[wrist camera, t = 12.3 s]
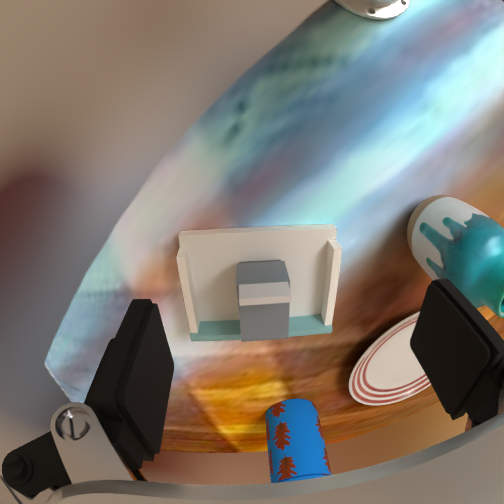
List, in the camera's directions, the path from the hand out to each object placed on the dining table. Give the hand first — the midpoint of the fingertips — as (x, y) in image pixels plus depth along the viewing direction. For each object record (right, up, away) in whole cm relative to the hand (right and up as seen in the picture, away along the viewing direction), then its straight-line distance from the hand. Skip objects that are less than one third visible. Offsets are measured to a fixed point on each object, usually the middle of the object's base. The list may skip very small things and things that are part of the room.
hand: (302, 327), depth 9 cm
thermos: (+6, -31, +45) cm, 55 cm away
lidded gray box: (-1, -1, +28) cm, 28 cm away
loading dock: (-1, -1, +30) cm, 30 cm away
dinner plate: (+29, -17, +40) cm, 52 cm away
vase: (+23, +7, +27) cm, 36 cm away
